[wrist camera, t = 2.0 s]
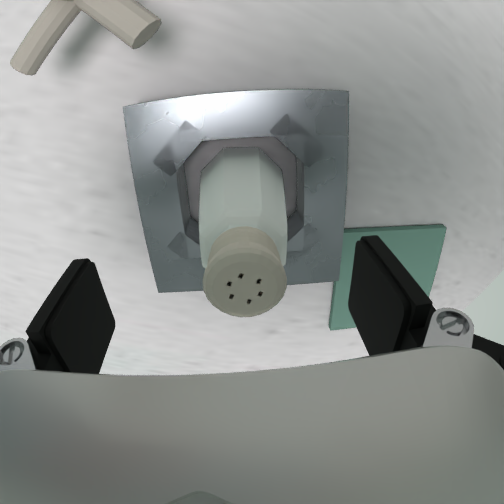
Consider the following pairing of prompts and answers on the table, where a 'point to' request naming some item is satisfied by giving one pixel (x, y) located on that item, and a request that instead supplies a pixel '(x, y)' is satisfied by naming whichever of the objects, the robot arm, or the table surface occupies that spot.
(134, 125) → the frame
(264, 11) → the table surface
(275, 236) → the pepper shaker
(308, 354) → the table surface
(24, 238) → the table surface
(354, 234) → the mat
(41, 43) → the pipe connector
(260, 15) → the table surface
